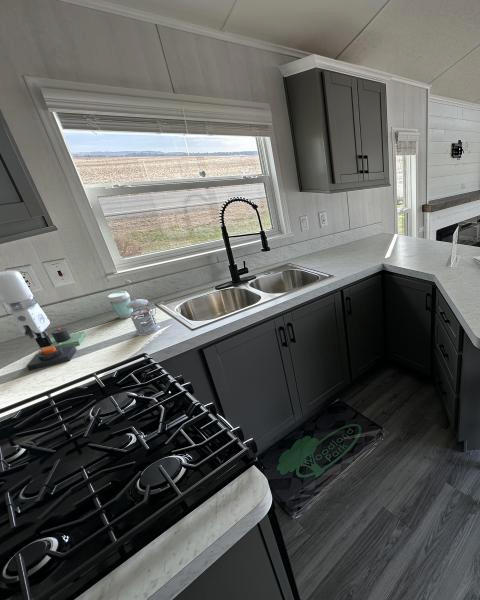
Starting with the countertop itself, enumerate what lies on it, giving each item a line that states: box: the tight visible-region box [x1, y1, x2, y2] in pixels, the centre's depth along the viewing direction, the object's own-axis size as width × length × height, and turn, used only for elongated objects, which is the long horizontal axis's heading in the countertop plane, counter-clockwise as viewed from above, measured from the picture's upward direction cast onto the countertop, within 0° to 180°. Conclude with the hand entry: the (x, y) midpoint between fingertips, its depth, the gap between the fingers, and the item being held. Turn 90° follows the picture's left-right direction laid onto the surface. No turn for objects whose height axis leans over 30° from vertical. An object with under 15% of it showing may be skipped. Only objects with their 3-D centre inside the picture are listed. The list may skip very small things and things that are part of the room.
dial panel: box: [40, 330, 87, 351], centre depth 142 cm, size 12×10×2 cm
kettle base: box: [26, 346, 78, 371], centre depth 130 cm, size 12×9×4 cm
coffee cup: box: [107, 290, 134, 320], centre depth 162 cm, size 8×8×12 cm
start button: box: [40, 346, 57, 355], centre depth 129 cm, size 4×4×2 cm
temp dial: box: [50, 327, 71, 343], centre depth 140 cm, size 5×5×5 cm
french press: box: [124, 279, 161, 337], centre depth 146 cm, size 10×12×25 cm
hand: (46, 345), depth 128 cm, fingers closed
